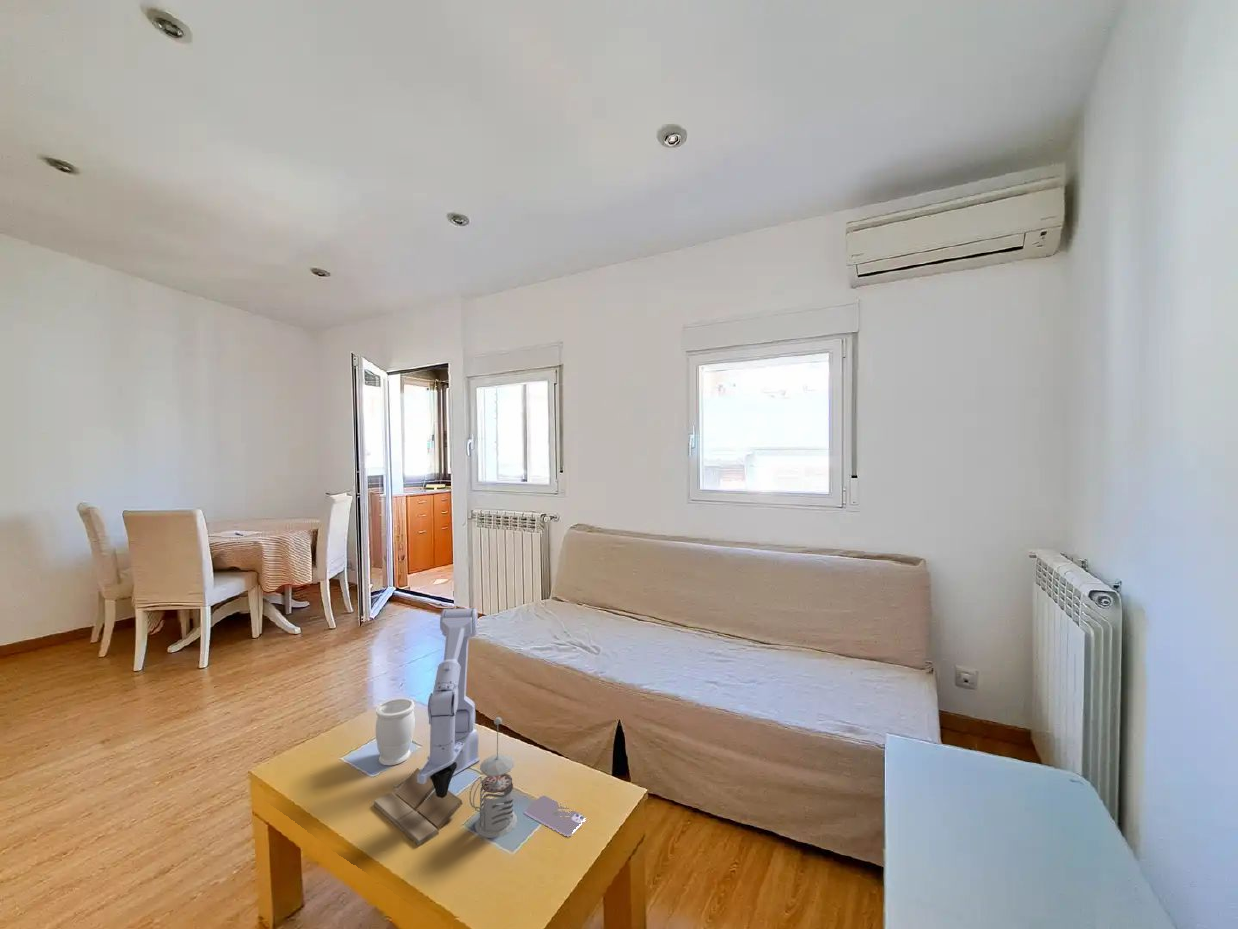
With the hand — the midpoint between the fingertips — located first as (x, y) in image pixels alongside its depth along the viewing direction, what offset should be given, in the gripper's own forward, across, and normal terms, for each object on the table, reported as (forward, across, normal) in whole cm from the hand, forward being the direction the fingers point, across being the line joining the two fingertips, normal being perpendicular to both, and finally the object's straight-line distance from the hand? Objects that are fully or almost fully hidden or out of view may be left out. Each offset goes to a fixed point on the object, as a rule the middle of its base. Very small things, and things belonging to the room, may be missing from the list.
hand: (441, 795), depth 118 cm
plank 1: (+2, -2, -10) cm, 10 cm away
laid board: (+4, +5, -7) cm, 9 cm away
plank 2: (+3, 0, 0) cm, 3 cm away
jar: (+4, -13, -29) cm, 32 cm away
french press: (+4, -2, +14) cm, 15 cm away
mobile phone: (+5, -10, +26) cm, 29 cm away
